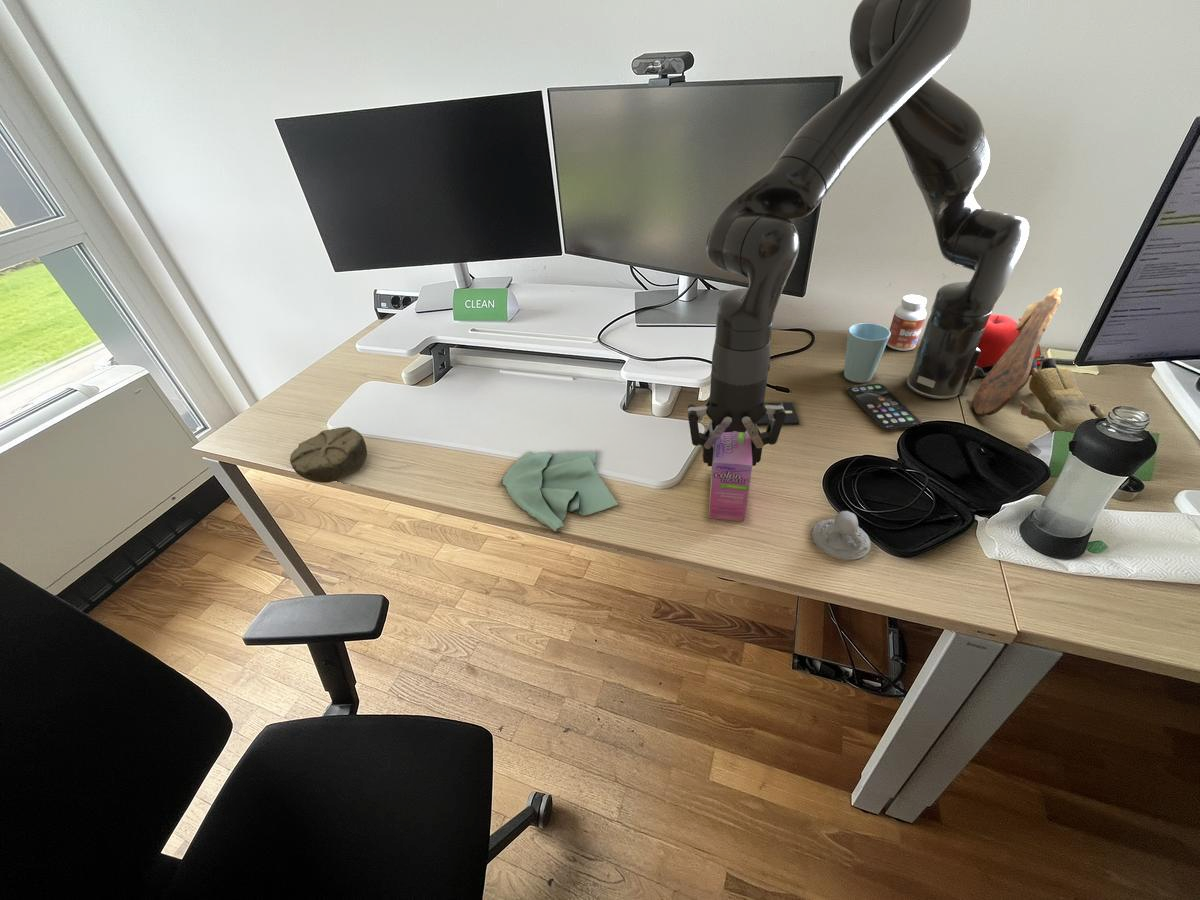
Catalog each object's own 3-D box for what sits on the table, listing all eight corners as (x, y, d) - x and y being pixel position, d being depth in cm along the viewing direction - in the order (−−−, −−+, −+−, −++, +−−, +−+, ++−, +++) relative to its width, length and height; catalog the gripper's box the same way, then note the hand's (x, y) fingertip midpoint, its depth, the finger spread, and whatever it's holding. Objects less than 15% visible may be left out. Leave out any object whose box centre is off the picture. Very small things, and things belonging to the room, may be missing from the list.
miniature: (872, 527, 79) (880, 505, 76) (868, 566, 74) (877, 543, 71) (815, 514, 82) (821, 492, 79) (808, 550, 77) (814, 528, 74)
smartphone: (881, 382, 108) (923, 424, 96) (880, 385, 108) (922, 427, 96) (845, 387, 108) (884, 429, 96) (845, 389, 108) (883, 432, 96)
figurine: (993, 390, 104) (1050, 510, 84) (1012, 351, 97) (1078, 471, 77) (1061, 390, 101) (1136, 515, 81) (1084, 350, 94) (1172, 475, 74)
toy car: (1046, 366, 109) (1026, 371, 111) (1039, 346, 111) (1020, 351, 113) (1038, 332, 101) (1018, 338, 103) (1031, 312, 104) (1011, 318, 106)
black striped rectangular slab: (791, 404, 106) (792, 401, 105) (799, 424, 100) (799, 422, 100) (735, 405, 107) (736, 402, 107) (740, 425, 102) (740, 423, 101)
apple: (979, 348, 116) (998, 301, 109) (1017, 368, 109) (1040, 319, 102) (940, 357, 114) (958, 310, 108) (976, 378, 107) (997, 329, 100)
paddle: (956, 410, 100) (1029, 296, 106) (970, 421, 100) (1042, 307, 106) (993, 401, 92) (1070, 277, 97) (1008, 413, 92) (1084, 289, 97)
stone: (373, 437, 99) (384, 459, 102) (339, 417, 106) (350, 438, 109) (307, 476, 91) (320, 498, 95) (276, 451, 99) (290, 473, 102)
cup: (870, 389, 107) (882, 343, 101) (832, 379, 112) (842, 334, 105) (883, 373, 112) (896, 328, 105) (846, 364, 116) (857, 319, 109)
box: (745, 522, 82) (752, 464, 75) (708, 519, 83) (711, 462, 76) (744, 478, 90) (751, 422, 83) (710, 475, 91) (714, 420, 84)
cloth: (518, 448, 102) (515, 438, 100) (630, 454, 97) (629, 444, 96) (479, 526, 86) (476, 515, 85) (610, 537, 82) (609, 526, 80)
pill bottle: (894, 353, 118) (908, 306, 111) (880, 340, 123) (893, 294, 116) (921, 350, 118) (937, 302, 111) (906, 337, 123) (920, 291, 116)
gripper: (789, 353, 74) (773, 447, 84) (685, 356, 75) (682, 448, 86) (800, 381, 68) (782, 478, 78) (687, 384, 69) (684, 479, 80)
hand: (730, 462), depth 82 cm, fingers closed on box, 6 cm apart
